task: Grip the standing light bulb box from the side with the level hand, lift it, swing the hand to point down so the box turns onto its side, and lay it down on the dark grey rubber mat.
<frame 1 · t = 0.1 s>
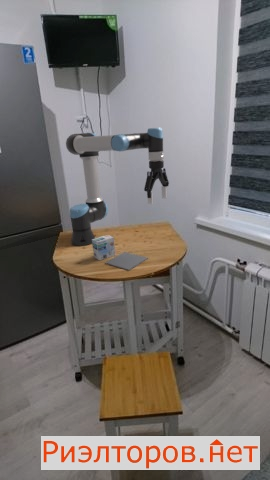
hand: (157, 201, 152), 28 cm above the table, tool pointing down, fingers open, 13 cm apart
light bulb box: (104, 256, 157), on the table
grey mat: (126, 261, 149), on the table
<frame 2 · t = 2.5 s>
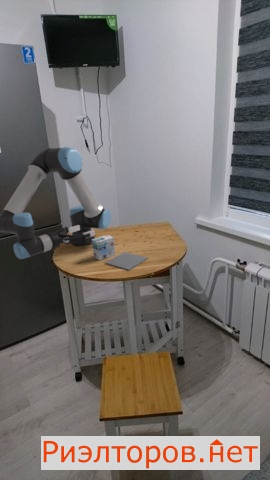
hand: (86, 229, 145), 18 cm above the table, tool horizontal, fingers open, 13 cm apart
nothing on the table moved.
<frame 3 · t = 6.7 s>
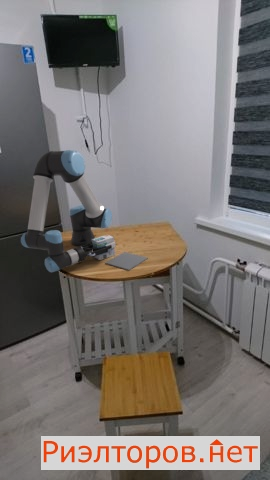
hand: (110, 242, 158), 7 cm above the table, tool horizontal, fingers closed on light bulb box, 7 cm apart
light bulb box: (104, 256, 157), on the table, touching gripper
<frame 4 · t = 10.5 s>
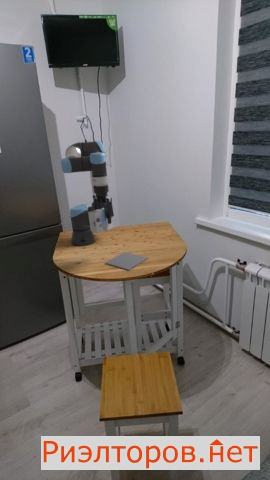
hand: (105, 227, 151), 17 cm above the table, tool pointing down, fingers closed on light bulb box, 7 cm apart
light bulb box: (92, 222, 144), point 21 cm above the table, touching gripper
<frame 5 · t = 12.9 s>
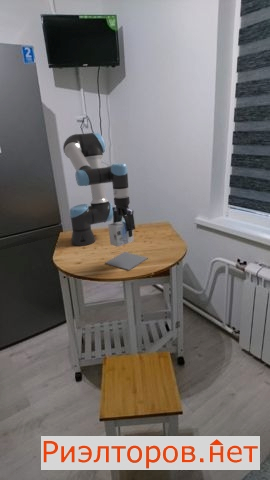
hand: (125, 240, 145), 12 cm above the table, tool pointing down, fingers closed on light bulb box, 7 cm apart
light bulb box: (112, 236, 139), point 16 cm above the table, touching gripper
when the fingers open (3 cm above the table, at t = 14.7 s): light bulb box drops 2 cm, resting on grey mat.
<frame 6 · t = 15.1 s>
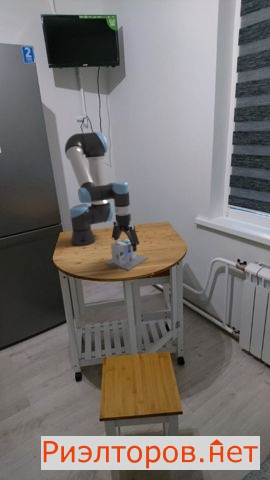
hand: (126, 253, 148), 4 cm above the table, tool pointing down, fingers open, 11 cm apart
light bulb box: (115, 255, 142), point 6 cm above the table, touching grey mat
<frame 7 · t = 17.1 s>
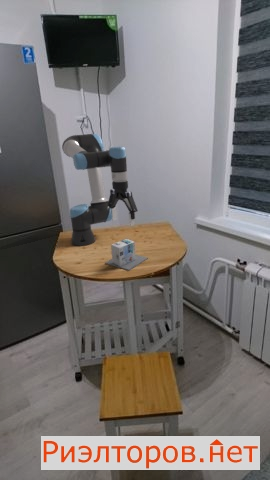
hand: (123, 222, 143), 21 cm above the table, tool pointing down, fingers open, 13 cm apart
nothing on the table moved.
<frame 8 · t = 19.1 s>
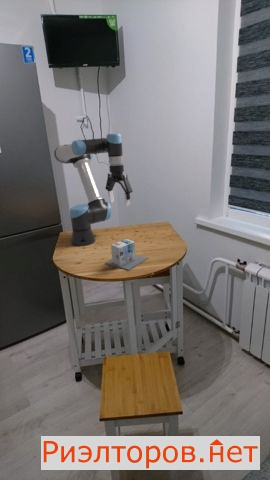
hand: (119, 203, 157), 27 cm above the table, tool pointing down, fingers open, 13 cm apart
nothing on the table moved.
at the end: light bulb box tilted 89°; light bulb box inside the target area on the grey mat (7.6 cm from its centre), point 5.8 cm above the grey mat's base; the gripper is holding nothing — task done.
